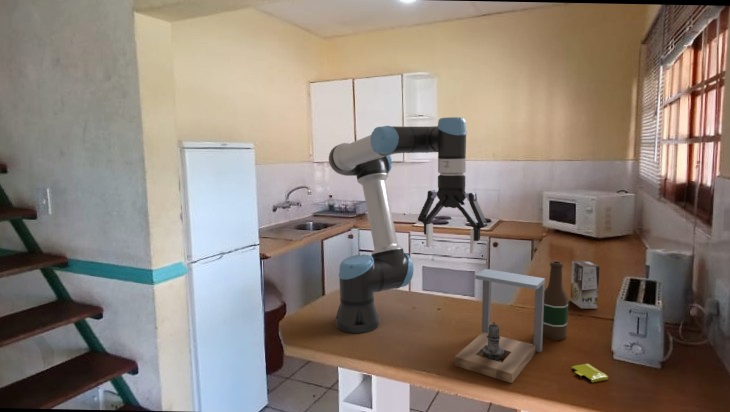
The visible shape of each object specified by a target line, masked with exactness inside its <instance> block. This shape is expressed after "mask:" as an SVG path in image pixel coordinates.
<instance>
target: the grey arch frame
mask: <svg viewBox="0 0 730 412" xmlns="http://www.w3.org/2000/svg"><path fill="white" fill-rule="evenodd" d="M474 279H475V280H479V281H480V280H481V281H482V301H481V302H482V303H481V304H482V308H481V312H482V315H481V333H482V332H485V333H488V330H489V325H491V324H492V322H491V318H492V317H491V316H492V313H491V312H492V283H497V284H502V285H508V286H513V287H517V288H518V287H519V288H523V289H529V290H530V289H531V290H534V291H535V292H534V293H535V294H534V295H535V296H534V317H533V319H534V322H533V343H532V344H533V345H535V353H536V352H537V353H541V352H542V351H543V338H544V336H543V315H544V291H545V290H546V288H545V287H546V278H544V277H539V276H534V275H533V276H531V275H525V274H520V273H512V272H508V271H501V270H494V269H489V268H484V269H483V270H481V271H480V272H478V273H477V274H475V277H474Z"/></svg>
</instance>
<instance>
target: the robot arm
mask: <svg viewBox="0 0 730 412" xmlns="http://www.w3.org/2000/svg"><path fill="white" fill-rule="evenodd" d="M467 133H468V131H467V121H466V119H465V118H463V117H459V116H457V117H456V116H454V117H453V116H452V117H451V116H450V117H441V118H439V119H438V121H437V126H436V125H435V126H434V125H431V126H397V125H396V126H391V125H384V126H377V127H375V128H374V129H373V131H372V132H371V134H370V135H367V136H365V137H363V138H360V139H357V140H355V141H353V142H351V143H350V142H349V143H348V142H343V143H340V144H337V145H335V146H334V147H333V148H332V149H331V150H330V152H329V155H328V163H329V166H330V167H331V169H332V170H333V171H334V172H335V173H336V174H339V175H341V176H347V177H348V176H349V177H353V176H356V179H357V180H356V181H357V183H358V184H360V185H361V186H362V191H363V195H364V201H365V206H366V207H365V208H366V212H367V216H368V222H369V227H370V232H371V238H372V243H373V247H374V248H373V249H374V250H373V251H372V252H371V254H370V255H369V254H357V255H352V256H348V257H347V258H344V259H343V260H342V261H341V262H340V264H339V269H338V270H339V273H338V277H339V279H338V280H339V281H338V282H339V300H340V301H339V306H338V310H337V313H336V316H335V327H336V328H337V329H338V330H340V331H342V332H345V333H352V334H353V333H354V334H361V333H367V332H372V331H373V330H376V329H377V328H378V327H380V315H379V314H378V311H377V307H376V305H375V293H379V292H385V291H390V290H394V289H400V288H403V287H407V286H408V285H409V284H410V283H411V281H412V279H413V276H414V270H415V269H414V262H413V259H412V258H411V256H410V254H408V253H405V251H404V248H403V247H402V246H400V245H399V244H398V238H397V233H396V228H395V224H394V219H393V218H394V217H393V213H392V209H391V208H392V207H391V204H390V198H389V193H388V188H387V184H386V180H387V178H388V177H389V173H390V172H391V170H392V164H393V161H392V160H393V159H392V155H396V154H411V153H412V154H416V153H417V154H421V153H423V154H424V153H425V154H428V153H437V172H438V176H437V188H438V189H437V191H436V190H435V189H432V190H428V191H427V196H426V200H425V202H424V205H423V207H422V209H421V211H420V213H419V216H418V217H417V221H418V222H421V223H422V224H423V234H424V235H425V239H426V241H425V242H426V243H425V244H426V245H425V246H426V247H427V248H430V247H432V246H433V245H434V223H432V221H433V220H434V219H435V217H436V216H437V215H438V214H439V212H440V211H441V210H442V209H443V208H447V209H448V208H451V209H456V208H457V209H458V211H460V212H461V213H462V214H463V216H464V217H465V218H466V220H467V222H468V223H469V224H470V225H471V227H472V228H471V229H470V234H469V235H470V237H469V238H470V239H469V240H470V241H469V242H470V243H469V244H470V247H469V250H470V251H469V253H470V254H474V253H476V252H478V248H477V247H478V242H479V241H480V240H481V229H483V228H486V227H488V222H487V220H486V217H485V215H484V213H483V210H482V209H481V206H480V205H479V201H478V198H477V193H476V192H475V191H474V192H467V193H466V175H465V174H464V173H466V168H467V167H466V165H467V164H466V161H467V159H466V155H467V154H466V153H467V151H466V150H467ZM436 198H438V201H437V203H436V204H435V206H434V207H433V209H432V210H431V208H432V206H433V204H434V201H435V199H436ZM466 199H467V201H469V202H468V203H469V205H470V208H471V210H472V211H471V210H470V209H469V207H468V205H467V204H466V202H465V200H466ZM430 210H431V211H430ZM472 212H473V213H472Z"/></svg>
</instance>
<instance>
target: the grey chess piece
mask: <svg viewBox="0 0 730 412" xmlns="http://www.w3.org/2000/svg"><path fill="white" fill-rule="evenodd" d="M499 336H500V326H499V325H497V323H496V321H493V322H492V323H490V325H489V330H488V336H487V338H488V345H487V346H485V347H483V351H484V355H483V356H484V358H488V359H491V360H495V361H498V362H503V361H502V360H501V359H503V358H502V356H503V353H504V350H503V349H502V348H500V347H499V339H500V337H499Z"/></svg>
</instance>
